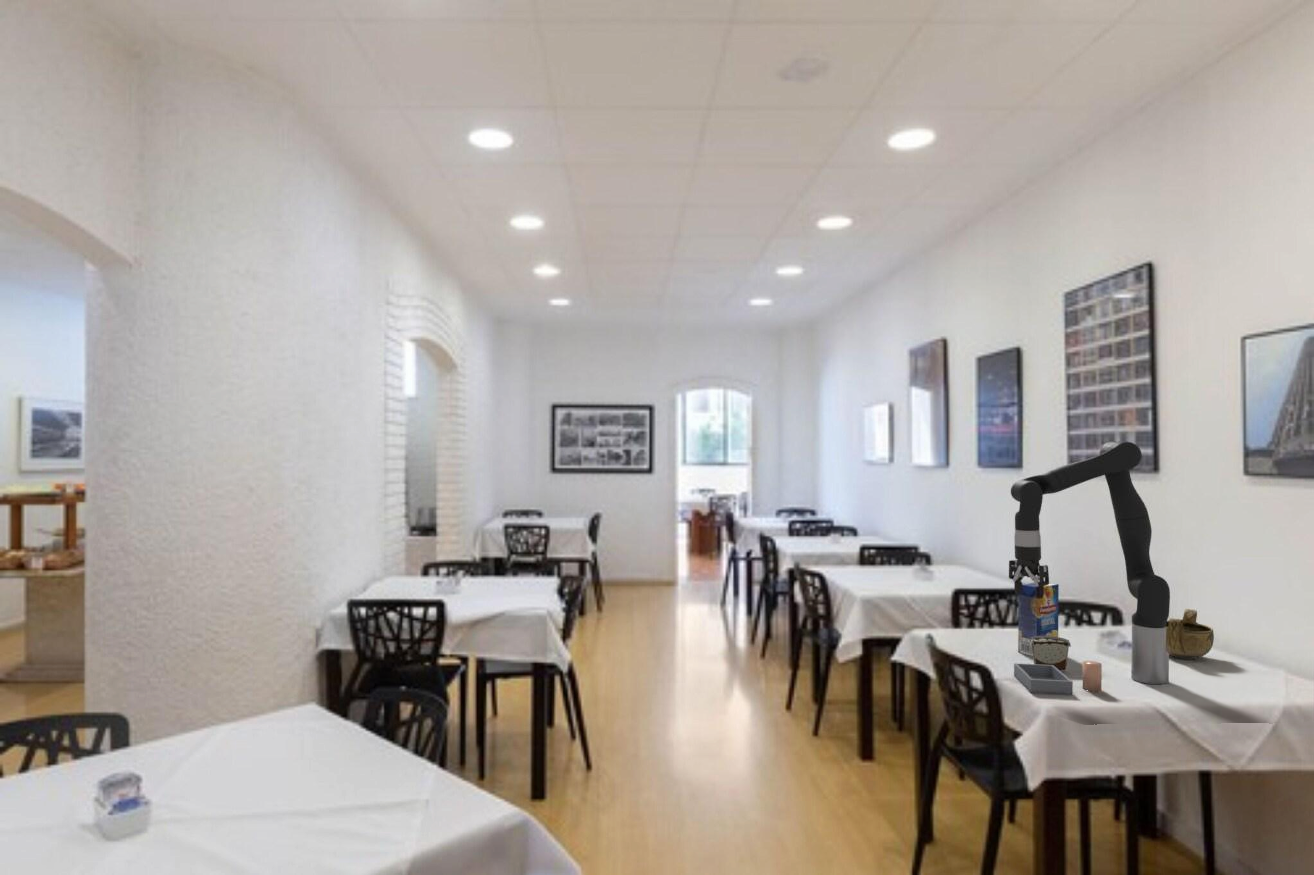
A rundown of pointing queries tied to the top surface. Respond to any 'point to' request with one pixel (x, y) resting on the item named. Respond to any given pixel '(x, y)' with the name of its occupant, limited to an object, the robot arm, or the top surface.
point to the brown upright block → (1092, 676)
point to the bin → (1043, 679)
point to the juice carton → (1036, 615)
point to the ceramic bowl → (1188, 637)
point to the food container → (1050, 651)
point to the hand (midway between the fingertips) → (1028, 595)
